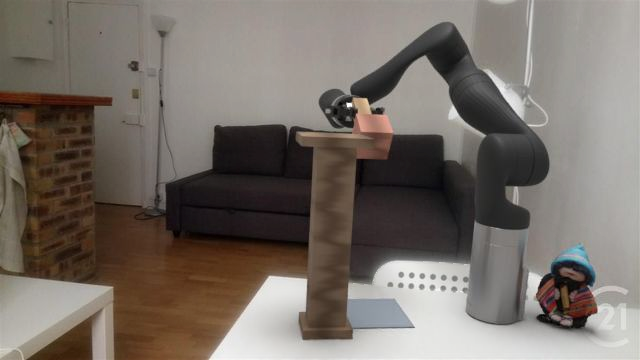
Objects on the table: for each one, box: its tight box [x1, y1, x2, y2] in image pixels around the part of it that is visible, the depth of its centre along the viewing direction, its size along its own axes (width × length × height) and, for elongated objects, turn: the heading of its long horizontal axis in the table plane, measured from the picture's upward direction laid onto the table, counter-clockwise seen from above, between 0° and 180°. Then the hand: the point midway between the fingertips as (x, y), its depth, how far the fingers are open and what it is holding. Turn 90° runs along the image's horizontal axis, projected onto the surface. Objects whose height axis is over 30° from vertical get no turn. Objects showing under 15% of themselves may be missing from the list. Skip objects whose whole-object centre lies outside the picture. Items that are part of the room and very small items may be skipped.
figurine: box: [535, 243, 599, 330], centre depth 87 cm, size 10×7×15 cm
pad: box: [347, 298, 416, 330], centre depth 89 cm, size 11×12×1 cm
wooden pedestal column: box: [295, 131, 375, 341], centre depth 81 cm, size 11×10×32 cm
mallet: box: [351, 98, 394, 160], centre depth 97 cm, size 6×17×6 cm
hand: (364, 114), depth 99 cm, fingers closed on mallet, 3 cm apart
